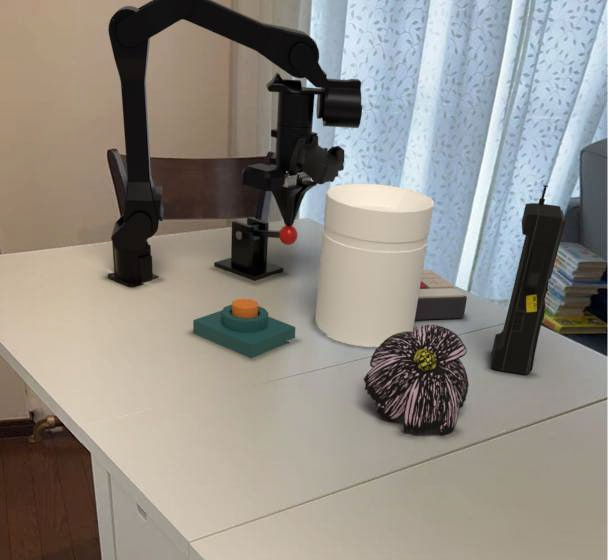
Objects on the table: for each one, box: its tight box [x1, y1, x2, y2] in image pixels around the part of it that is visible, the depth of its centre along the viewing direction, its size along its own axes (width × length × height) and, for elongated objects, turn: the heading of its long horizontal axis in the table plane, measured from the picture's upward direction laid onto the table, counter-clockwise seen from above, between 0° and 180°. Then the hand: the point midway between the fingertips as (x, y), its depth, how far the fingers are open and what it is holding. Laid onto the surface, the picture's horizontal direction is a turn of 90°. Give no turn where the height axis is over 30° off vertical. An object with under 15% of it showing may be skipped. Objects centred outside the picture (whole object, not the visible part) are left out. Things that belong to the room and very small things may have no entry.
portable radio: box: [490, 184, 566, 376], centre depth 114 cm, size 8×6×25 cm
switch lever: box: [246, 223, 299, 246], centre depth 140 cm, size 12×3×3 cm, turn 51°
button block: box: [192, 304, 296, 359], centre depth 122 cm, size 12×10×4 cm
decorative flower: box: [363, 324, 470, 436], centre depth 104 cm, size 15×12×15 cm
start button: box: [231, 298, 260, 318], centre depth 120 cm, size 4×4×2 cm
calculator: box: [415, 269, 468, 321], centre depth 139 cm, size 11×4×15 cm
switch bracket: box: [213, 216, 285, 282], centre depth 145 cm, size 10×8×9 cm
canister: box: [314, 183, 435, 348], centre depth 124 cm, size 16×16×20 cm
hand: (288, 225), depth 137 cm, fingers closed
